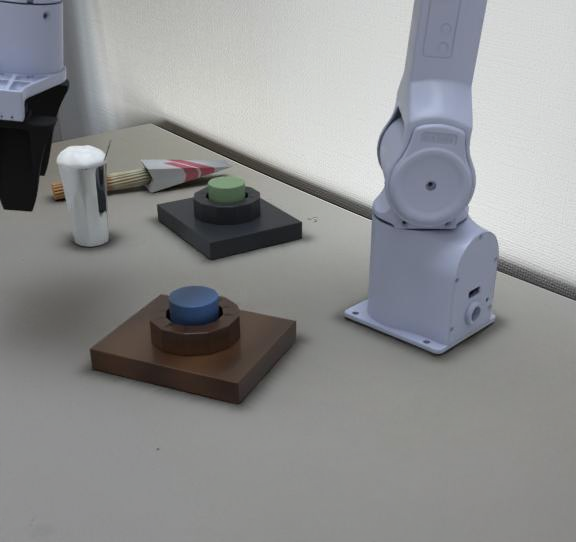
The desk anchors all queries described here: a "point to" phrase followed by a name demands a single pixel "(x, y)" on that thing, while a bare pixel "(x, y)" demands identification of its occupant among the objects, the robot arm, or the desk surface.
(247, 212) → the black square button base
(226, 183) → the green button
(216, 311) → the blue button
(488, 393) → the desk surface
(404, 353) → the desk surface
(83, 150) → the milkshake
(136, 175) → the paintbrush
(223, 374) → the wooden base push button
